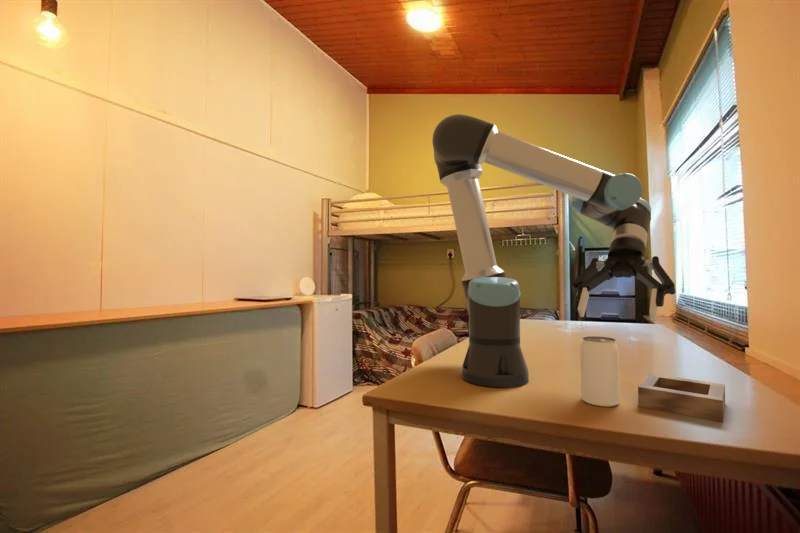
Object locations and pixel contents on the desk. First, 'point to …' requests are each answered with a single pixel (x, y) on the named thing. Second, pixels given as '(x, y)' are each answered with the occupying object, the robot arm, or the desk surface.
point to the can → (599, 371)
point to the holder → (683, 396)
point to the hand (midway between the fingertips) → (614, 315)
